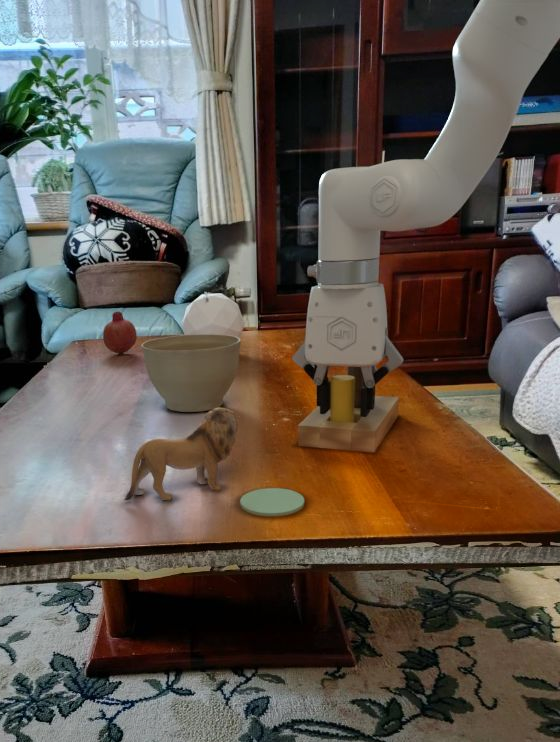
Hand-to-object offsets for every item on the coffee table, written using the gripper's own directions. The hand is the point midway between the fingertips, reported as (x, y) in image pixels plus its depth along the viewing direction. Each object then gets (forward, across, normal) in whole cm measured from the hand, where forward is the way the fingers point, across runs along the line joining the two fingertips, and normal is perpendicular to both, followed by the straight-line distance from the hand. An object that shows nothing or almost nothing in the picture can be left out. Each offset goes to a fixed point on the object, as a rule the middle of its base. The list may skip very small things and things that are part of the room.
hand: (345, 411), depth 93 cm
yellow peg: (+4, 0, 0) cm, 4 cm away
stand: (+4, 0, +4) cm, 5 cm away
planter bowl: (+4, -28, +11) cm, 30 cm away
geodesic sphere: (+4, -43, +53) cm, 68 cm away
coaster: (+4, -2, -24) cm, 25 cm away
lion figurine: (+4, -13, -23) cm, 27 cm away
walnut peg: (+4, 0, +7) cm, 8 cm away
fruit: (+4, -66, +50) cm, 83 cm away
